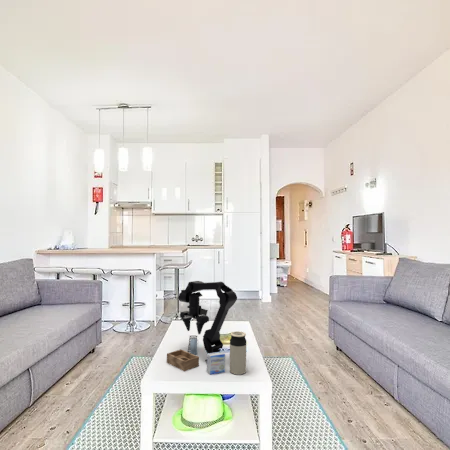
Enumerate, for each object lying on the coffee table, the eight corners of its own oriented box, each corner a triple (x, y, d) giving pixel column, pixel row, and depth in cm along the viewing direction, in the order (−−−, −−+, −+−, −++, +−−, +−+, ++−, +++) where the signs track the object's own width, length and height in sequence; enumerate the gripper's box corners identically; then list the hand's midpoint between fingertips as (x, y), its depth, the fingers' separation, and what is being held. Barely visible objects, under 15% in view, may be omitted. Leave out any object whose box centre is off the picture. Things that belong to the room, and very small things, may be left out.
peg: (198, 354, 172) (198, 339, 173) (193, 355, 170) (193, 340, 170) (193, 352, 175) (194, 337, 175) (188, 354, 172) (189, 339, 173)
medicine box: (209, 375, 146) (210, 356, 147) (206, 371, 150) (206, 353, 151) (225, 372, 149) (225, 354, 150) (221, 368, 153) (221, 350, 154)
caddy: (198, 366, 156) (199, 356, 156) (184, 371, 150) (184, 361, 150) (180, 357, 166) (181, 349, 167) (166, 362, 160) (166, 353, 160)
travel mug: (231, 375, 146) (232, 336, 147) (227, 368, 154) (228, 331, 154) (248, 374, 148) (248, 335, 148) (243, 367, 155) (243, 330, 156)
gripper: (216, 304, 173) (216, 333, 172) (194, 299, 186) (194, 326, 185) (201, 307, 165) (200, 337, 164) (179, 302, 178) (179, 330, 177)
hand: (193, 332), depth 173 cm, fingers open, 9 cm apart
